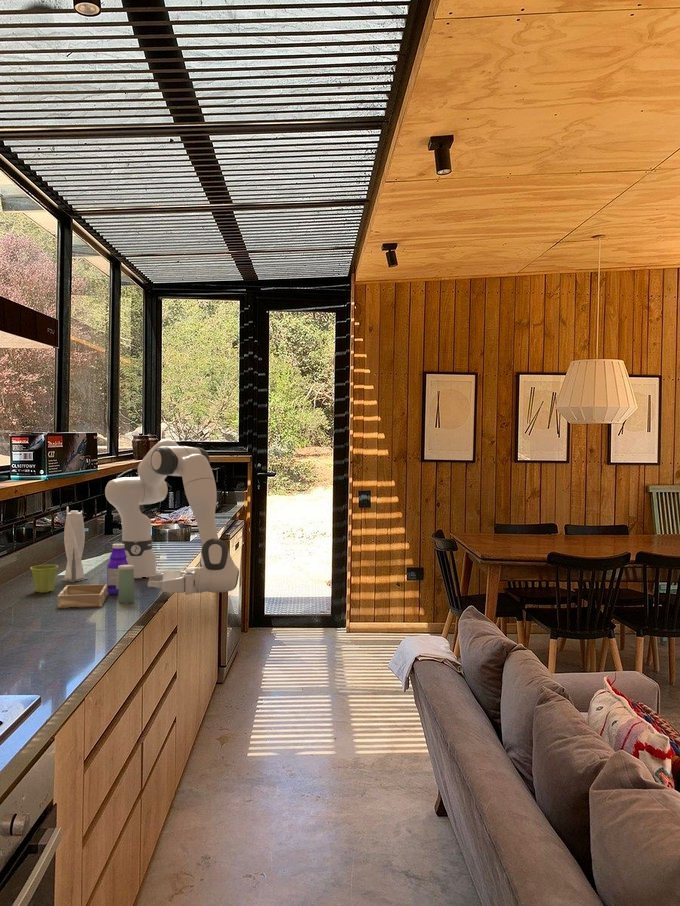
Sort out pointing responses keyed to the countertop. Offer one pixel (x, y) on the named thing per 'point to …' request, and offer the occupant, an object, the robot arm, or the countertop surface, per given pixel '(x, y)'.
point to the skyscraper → (74, 545)
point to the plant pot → (44, 577)
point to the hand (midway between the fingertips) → (148, 581)
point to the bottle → (115, 567)
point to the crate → (83, 596)
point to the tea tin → (126, 583)
